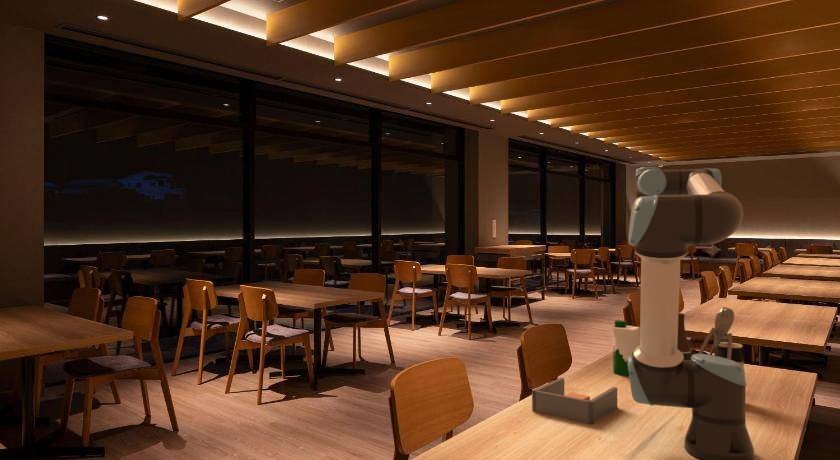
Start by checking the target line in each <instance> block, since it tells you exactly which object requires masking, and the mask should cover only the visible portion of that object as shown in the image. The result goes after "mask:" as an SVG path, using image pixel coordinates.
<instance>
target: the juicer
mask: <svg viewBox="0 0 840 460" xmlns="http://www.w3.org/2000/svg"><path fill="white" fill-rule="evenodd" d="M734 320H735V313H734V310H733V309H732V308H730V307H725V306H724V307H721V308H719V309H718V311H717V313H716V316H715V319H714V327H711V329H710V330H709V332H708V334H707V336H706V337H705V339H704V341H703V343H702V345H701V347H700V349H699V351H698V353H697V354H704V351H705V349H706V347H707V345H708V343H709V341H710V339H711V338H712V336H714V341H713V344H712V346H711V349H710V351H709V354H708V355H713V354H714V351H715V348H717V346H718V345H719V344H720V343H721V342H722V341H723V340H727V342H728V350H727V359H729V360H731V353H732V343H733V333H731V332H730V330H731V328H732V326H733V324H734ZM729 332H730V333H729Z"/></svg>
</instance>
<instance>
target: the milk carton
mask: <svg viewBox="0 0 840 460" xmlns="http://www.w3.org/2000/svg"><path fill="white" fill-rule="evenodd" d="M611 329H612V350H613V351H612V363H613V365H612V366H613V374H614V375H620V376H626V377H629V370H628V360H627V358H628V357H630V356H634V350H635V348H637V347H638V346H640V326H633V325H627V321H626V320H619V319H618V320H614V326H613V327H612V328H611Z"/></svg>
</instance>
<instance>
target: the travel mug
mask: <svg viewBox="0 0 840 460" xmlns="http://www.w3.org/2000/svg"><path fill="white" fill-rule="evenodd" d="M743 347H744V346H743V344H740V343H735V342H732V353H731V360H732V361H735V362H737V363H739V364H740V365H741V366H742V367H743V368H744V365H745V364H744V360H745V358H744V357H745V356H744V354H743V353H742V349H743ZM727 350H728V341H726V342H725V341H723V342H722V341H721V343H720V344H719V345H718V346H717V347H716V350H715V352H713V354H714V355H713V356H718V357H722V358H726V359H727ZM744 369H745V368H744Z"/></svg>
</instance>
